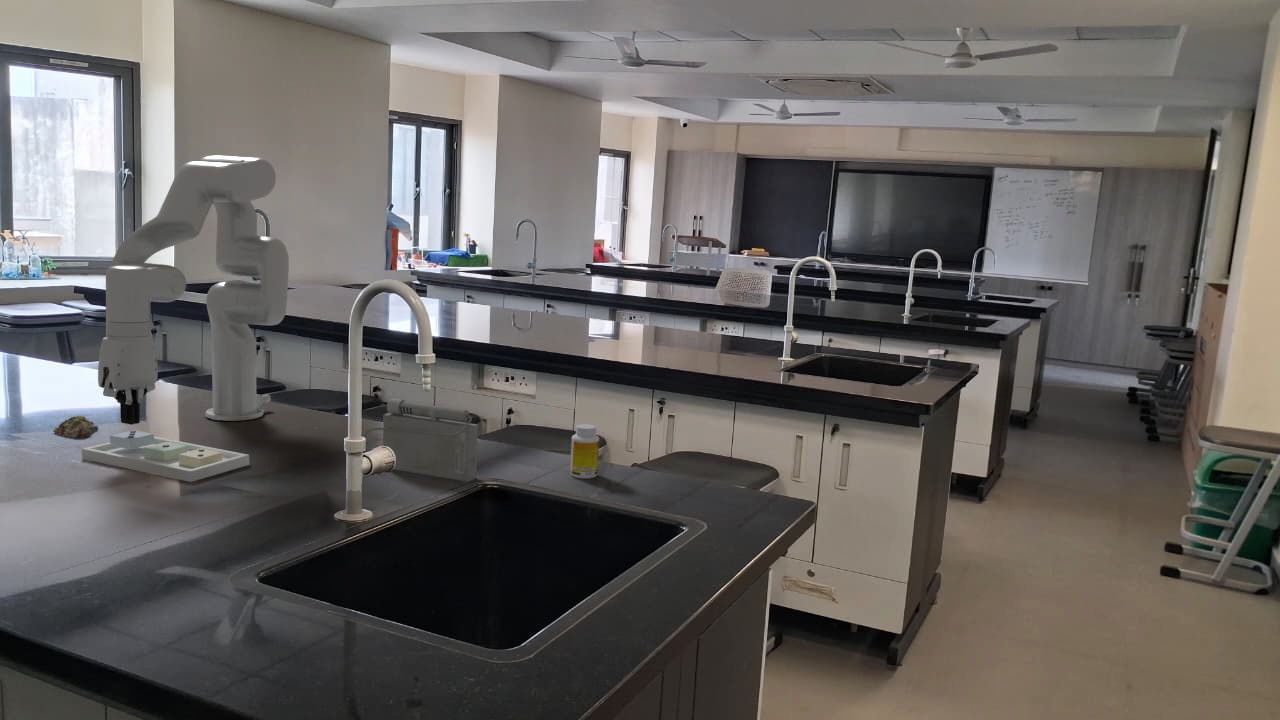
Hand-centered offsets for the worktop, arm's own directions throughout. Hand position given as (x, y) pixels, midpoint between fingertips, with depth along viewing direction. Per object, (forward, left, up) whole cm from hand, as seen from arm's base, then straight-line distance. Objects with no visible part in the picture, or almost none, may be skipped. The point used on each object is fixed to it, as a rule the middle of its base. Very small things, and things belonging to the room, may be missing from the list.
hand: (130, 422), depth 186 cm
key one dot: (0, +9, -6) cm, 10 cm away
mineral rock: (-6, -23, -7) cm, 25 cm away
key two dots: (0, +18, -6) cm, 19 cm away
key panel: (0, +9, -7) cm, 11 cm away
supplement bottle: (-37, +81, -7) cm, 89 cm away
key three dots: (0, 0, -4) cm, 5 cm away
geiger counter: (-21, +52, -7) cm, 57 cm away
